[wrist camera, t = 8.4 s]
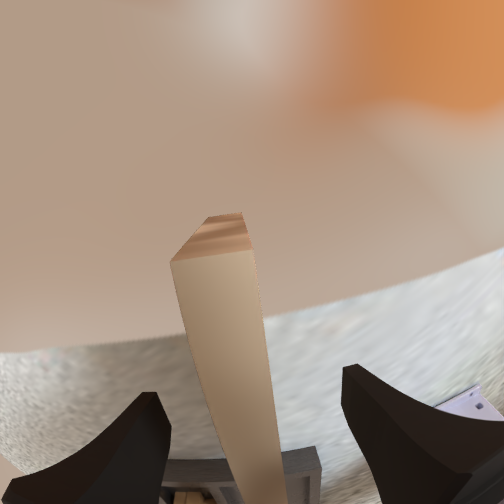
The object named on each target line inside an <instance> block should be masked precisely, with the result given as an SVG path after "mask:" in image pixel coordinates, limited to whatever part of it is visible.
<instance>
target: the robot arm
mask: <svg viewBox="0 0 504 504" xmlns="http://www.w3.org/2000/svg"><path fill="white" fill-rule="evenodd" d="M481 388H482V386H481V385H480V384H477V385H476V386H474V387H472V388H471V389H469V390H467V391H465V392H463V393H462V394H460V395H458V396H456V397H454V398H452V399H450V400H448V401H446V402H444V403H442V404H440V405H438V406H436V407H431V406H429V405H426V404H424V403H421V402H419V401H417V400H415V399H413V398H411V397H409V396H407V395H405V394H403V393H402V392H400V391H398V390H396V389H395V388H393V387H392V386H390V385H388V384H387V383H385V382H384V381H382V380H381V379H379V378H378V377H376V376H375V375H373V374H372V373H370V372H369V371H367V370H366V369H365V368H363V367H362V366H360V365H359V364H354V365H350V366H346V367H343V374H342V395H341V406H342V409H343V412H344V415H345V418H346V420H347V423H348V426H349V428H350V430H351V432H352V434H353V436H354V437H355V439H356V441H357V443H358V445H359V447H360V449H361V451H362V453H363V455H364V457H365V459H366V461H367V463H368V465H369V467H370V469H371V471H372V474H373V477H374V480H375V483H376V485H377V488H378V491H379V495H380V498H381V501H382V504H504V417H503V416H502V415H501V414H500V413H499V412H498V411H497V410H496V409H495V408H494V407H493V406H492V405H491V404H490V403H489V402H488V401H487V400H486V399H485V398H484V397H483V396H482V395H481V394H480V391H481ZM171 427H172V426H171V424H170V422H169V420H168V418H167V415H166V413H165V411H164V409H163V406H162V404H161V402H160V399H159V397H158V395H157V392H142V393H141V394H140V395H139V396H138V397H137V398H136V399H135V400H134V401H133V402H132V403H131V404H130V405H129V406H128V407H127V408H126V409H125V411H124V412H123V413H122V414H121V415H120V416H119V417H118V418H117V419H116V420H115V421H114V422H113V423H112V424H111V425H109V426H108V427H107V428H106V429H105V430H104V431H103V432H102V433H101V434H100V435H98V436H97V437H96V438H95V439H94V440H93V441H91V442H90V443H89V444H87V445H86V446H85V447H83V448H82V449H80V450H79V451H78V452H76V453H75V454H73V455H71V456H69V457H68V458H66V459H64V460H62V461H61V462H59V463H57V464H55V465H53V466H51V467H48V468H46V469H44V470H41V471H38V472H36V473H33V474H29V475H26V476H22V477H18V478H14V479H12V480H11V482H10V484H9V486H8V487H7V489H6V492H5V493H4V495H3V497H2V499H1V500H2V502H3V504H159V496H160V490H161V485H162V481H163V476H164V472H165V467H166V463H167V458H168V454H169V449H170V441H171Z"/></svg>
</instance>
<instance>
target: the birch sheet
mask: <svg viewBox="0 0 504 504" xmlns="http://www.w3.org/2000/svg"><path fill="white" fill-rule="evenodd" d="M170 265H171V270H172V275H173V279H174V284H175V289H176V293H177V297H178V302H179V306H180V310H181V314H182V318H183V322H184V326H185V330H186V334H187V338H188V341H189V345H190V349H191V352H192V356H193V359H194V363H195V366H196V370H197V373H198V376H199V380H200V383H201V386H202V390H203V393H204V396H205V399H206V402H207V405H208V408H209V411H210V414H211V417H212V420H213V423H214V426H215V429H216V432H217V434H218V437H219V440H220V443H221V445H222V448H223V451H224V453H225V456H226V459H227V461H228V464H229V466H230V469H231V471H232V474H233V476H234V479H235V481H236V484H237V486H238V488H239V491H240V493H241V495H242V498H243V500H244V502H245V504H288V500H287V493H286V485H285V478H284V471H283V463H282V456H281V448H280V441H279V434H278V426H277V419H276V412H275V404H274V397H273V390H272V382H271V375H270V368H269V360H268V353H267V346H266V339H265V331H264V324H263V317H262V310H261V303H260V295H259V288H258V281H257V273H256V266H255V259H254V252H253V247H252V244H251V241H250V238H249V235H248V231H247V228H246V225H245V222H244V219H243V216H242V213H234V214H227V215H220V216H214V217H208V218H207V219H206V221H205V222H204V223H203V224H202V225H201V226H200V227H199V229H198V230H197V231H196V232H195V233H194V234H193V235H192V236H191V238H190V239H189V240H188V241H187V242H186V243H185V245H184V246H183V247H182V248H181V249H180V250H179V252H178V253H177V254H176V255H175V256H174V257H173V259H172V260H171V261H170Z"/></svg>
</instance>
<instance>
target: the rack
mask: <svg viewBox="0 0 504 504" xmlns="http://www.w3.org/2000/svg"><path fill="white" fill-rule="evenodd" d="M281 456H282V463H283V471H284V478H285V485H286V493H287V500H288V504H319V497H320V485H321V472H322V467H321V464H320V460H319V457H318V454H317V451H316V447H315V446H312V447H307V448H302V449H297V450H292V451H286V452H281ZM175 492H200V493H201V494H202V496H203V497H204V499H215V501H216V503H217V504H245V502H244V500H243V498H242V495H241V493H240V491H239V488H238V486H237V484H236V481H235V479H234V476H233V474H232V471H231V469H230V466H229V464H228V461H227V459H212V460H167V463H166V467H165V472H164V476H163V481H162V485H161V490H160V496H159V504H174V498H175Z"/></svg>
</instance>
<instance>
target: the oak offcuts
mask: <svg viewBox="0 0 504 504" xmlns="http://www.w3.org/2000/svg"><path fill="white" fill-rule="evenodd" d="M174 504H217V503H216V501H215V499H204V497H203V496H202V494H201V493H200V492H175V498H174Z"/></svg>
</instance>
